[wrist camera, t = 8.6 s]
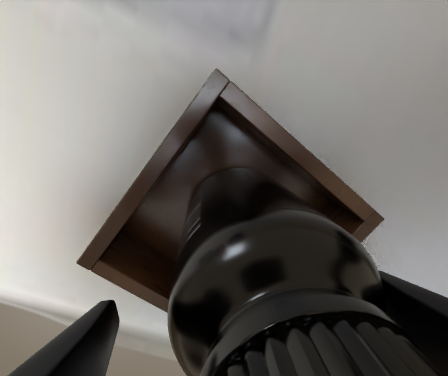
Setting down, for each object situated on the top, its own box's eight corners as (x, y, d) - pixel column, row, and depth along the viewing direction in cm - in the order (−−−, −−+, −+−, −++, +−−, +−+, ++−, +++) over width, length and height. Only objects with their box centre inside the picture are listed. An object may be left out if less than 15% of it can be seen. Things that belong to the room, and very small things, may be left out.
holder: (339, 196, 16) (385, 219, 12) (238, 305, 17) (248, 357, 14) (213, 86, 13) (216, 67, 9) (110, 227, 15) (75, 263, 11)
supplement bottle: (227, 275, 16) (282, 663, 4) (165, 207, 14) (-14, 550, 3) (305, 222, 15) (612, 509, 4) (250, 143, 14) (510, 225, 2)
